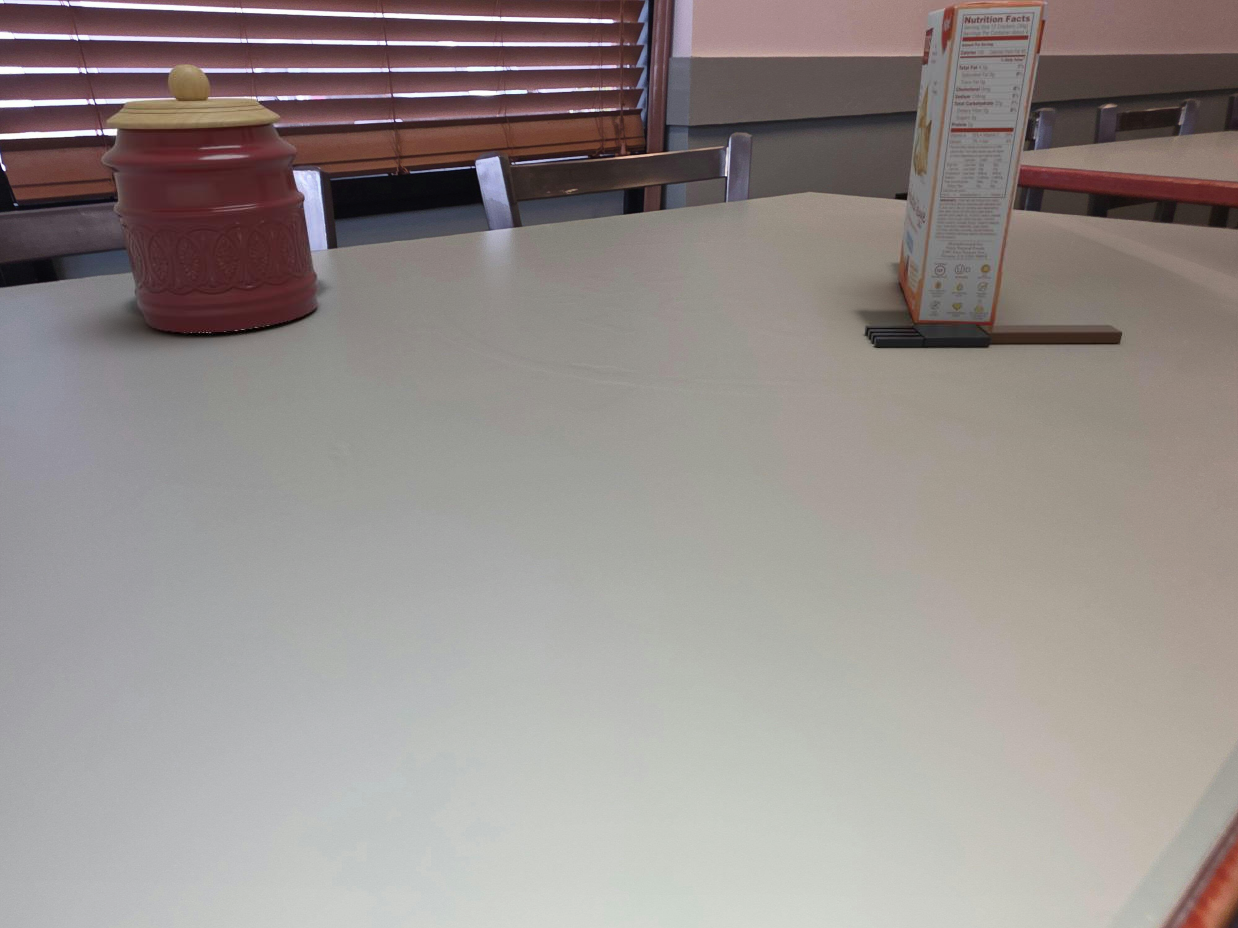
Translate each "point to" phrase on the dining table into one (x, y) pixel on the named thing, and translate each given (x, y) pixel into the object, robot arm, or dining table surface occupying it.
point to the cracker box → (967, 157)
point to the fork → (987, 334)
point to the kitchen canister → (210, 211)
